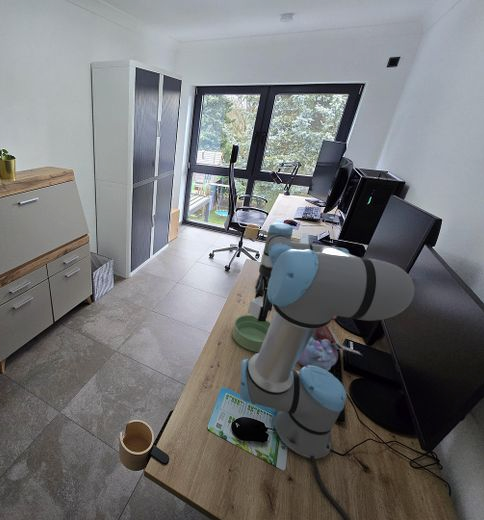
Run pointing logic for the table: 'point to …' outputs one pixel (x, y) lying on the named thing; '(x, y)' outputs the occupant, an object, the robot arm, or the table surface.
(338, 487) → the table surface
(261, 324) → the bowl
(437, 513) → the table surface
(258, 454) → the table surface
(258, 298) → the white cube
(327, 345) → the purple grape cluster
